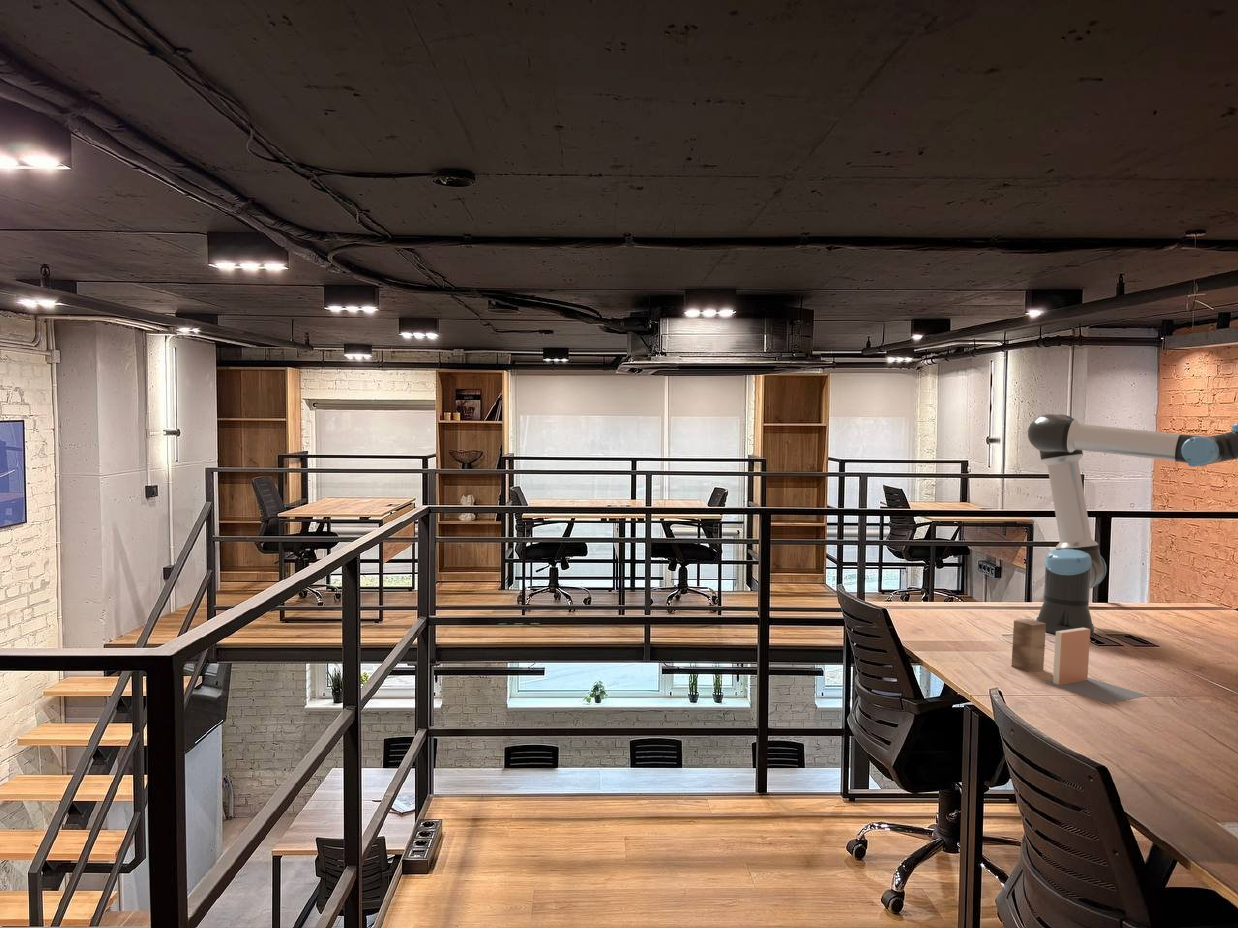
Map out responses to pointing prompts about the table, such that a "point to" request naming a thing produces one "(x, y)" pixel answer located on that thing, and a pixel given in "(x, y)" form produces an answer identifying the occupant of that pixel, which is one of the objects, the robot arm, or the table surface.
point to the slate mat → (1099, 691)
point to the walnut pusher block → (1028, 645)
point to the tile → (1071, 656)
